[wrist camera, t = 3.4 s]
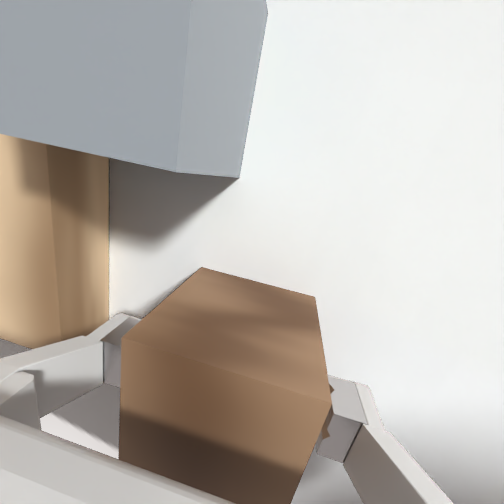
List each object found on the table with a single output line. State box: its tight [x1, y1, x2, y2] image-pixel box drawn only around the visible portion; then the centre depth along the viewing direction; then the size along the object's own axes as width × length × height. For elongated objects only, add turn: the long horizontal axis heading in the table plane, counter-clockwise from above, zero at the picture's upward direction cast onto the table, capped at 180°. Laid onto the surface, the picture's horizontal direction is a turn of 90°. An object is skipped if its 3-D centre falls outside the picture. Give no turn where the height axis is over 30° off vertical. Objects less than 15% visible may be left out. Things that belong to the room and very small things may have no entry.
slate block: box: [0, 0, 268, 178], centre depth 6 cm, size 5×5×5 cm
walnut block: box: [119, 267, 332, 504], centre depth 8 cm, size 5×5×5 cm
